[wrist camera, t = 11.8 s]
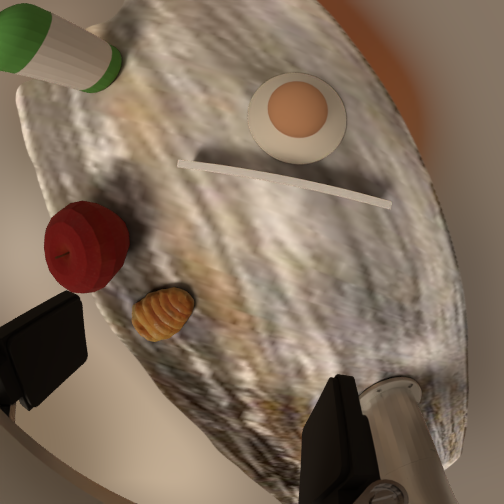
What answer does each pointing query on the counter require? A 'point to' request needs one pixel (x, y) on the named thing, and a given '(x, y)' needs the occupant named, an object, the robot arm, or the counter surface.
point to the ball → (297, 109)
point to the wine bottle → (55, 50)
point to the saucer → (289, 146)
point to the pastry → (162, 313)
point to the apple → (85, 246)
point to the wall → (285, 181)
